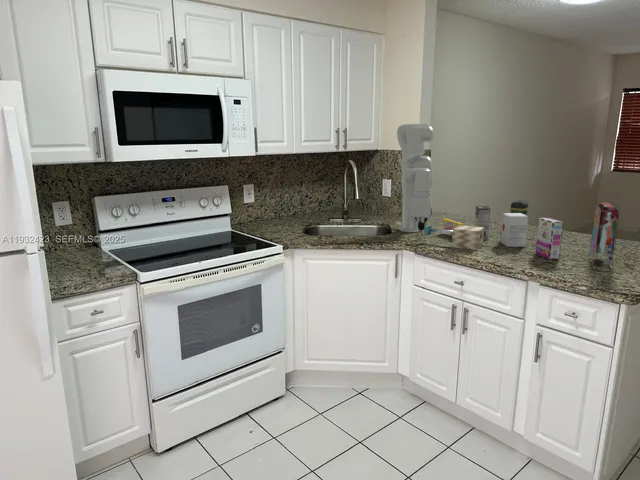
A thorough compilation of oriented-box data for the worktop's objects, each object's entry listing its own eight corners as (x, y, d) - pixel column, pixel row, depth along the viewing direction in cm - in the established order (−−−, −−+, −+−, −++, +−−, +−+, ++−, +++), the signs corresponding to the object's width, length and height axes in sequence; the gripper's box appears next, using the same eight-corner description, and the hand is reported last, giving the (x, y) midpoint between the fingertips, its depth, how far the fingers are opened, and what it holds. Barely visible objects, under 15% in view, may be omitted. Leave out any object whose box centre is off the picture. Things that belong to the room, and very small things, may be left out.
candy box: (442, 233, 248) (442, 218, 246) (445, 233, 248) (446, 218, 247) (460, 239, 233) (461, 223, 231) (463, 239, 234) (464, 223, 232)
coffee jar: (522, 238, 233) (525, 202, 229) (506, 236, 238) (509, 201, 233) (527, 234, 240) (530, 200, 236) (511, 232, 245) (514, 198, 241)
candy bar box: (560, 259, 193) (564, 221, 190) (549, 259, 193) (553, 222, 189) (545, 252, 204) (549, 217, 201) (534, 253, 204) (538, 217, 200)
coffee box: (473, 235, 241) (475, 205, 237) (486, 235, 239) (488, 205, 236) (475, 239, 232) (477, 208, 228) (488, 239, 231) (491, 208, 227)
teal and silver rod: (424, 235, 227) (424, 226, 226) (427, 233, 230) (427, 224, 229) (460, 238, 217) (460, 229, 216) (462, 237, 221) (463, 228, 220)
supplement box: (500, 242, 225) (502, 212, 221) (518, 242, 224) (520, 212, 221) (506, 247, 216) (509, 216, 212) (526, 246, 215) (528, 215, 212)
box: (586, 252, 203) (593, 198, 197) (602, 254, 200) (609, 199, 195) (594, 268, 181) (601, 207, 175) (612, 269, 178) (620, 208, 173)
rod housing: (451, 247, 217) (452, 228, 215) (458, 242, 225) (458, 225, 223) (477, 250, 211) (478, 231, 209) (482, 245, 219) (484, 227, 217)
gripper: (405, 194, 226) (404, 230, 230) (434, 195, 218) (432, 233, 222) (411, 192, 232) (410, 227, 236) (439, 194, 224) (437, 230, 228)
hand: (421, 230), depth 229 cm, fingers closed
